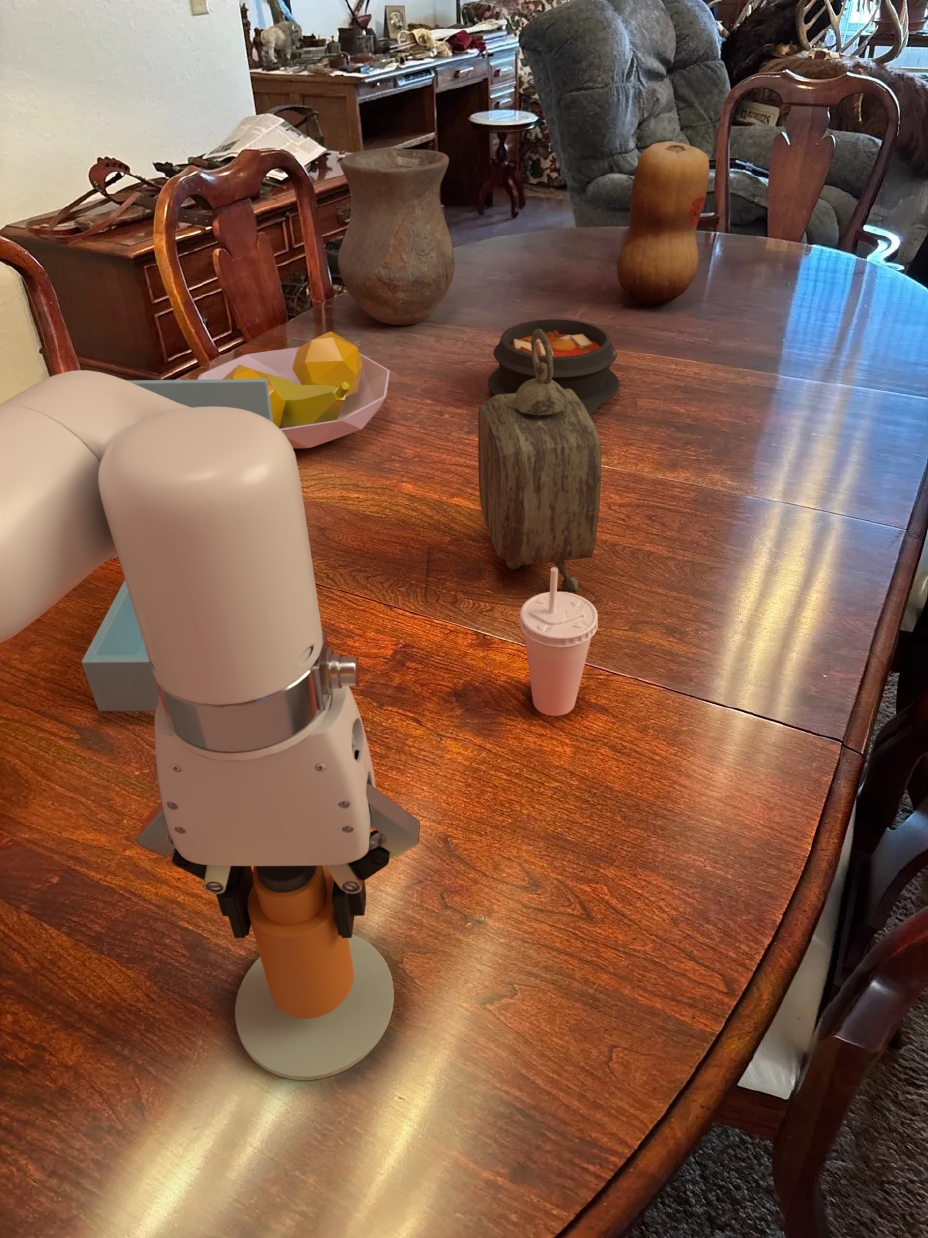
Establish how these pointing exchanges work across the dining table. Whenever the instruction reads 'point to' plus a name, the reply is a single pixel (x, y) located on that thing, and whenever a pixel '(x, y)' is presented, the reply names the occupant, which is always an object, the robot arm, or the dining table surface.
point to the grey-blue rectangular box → (120, 661)
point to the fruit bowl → (314, 387)
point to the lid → (215, 393)
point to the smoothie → (557, 646)
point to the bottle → (300, 939)
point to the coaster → (317, 1021)
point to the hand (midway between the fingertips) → (297, 914)
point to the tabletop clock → (539, 472)
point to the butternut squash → (663, 223)
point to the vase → (396, 234)
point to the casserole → (558, 360)
